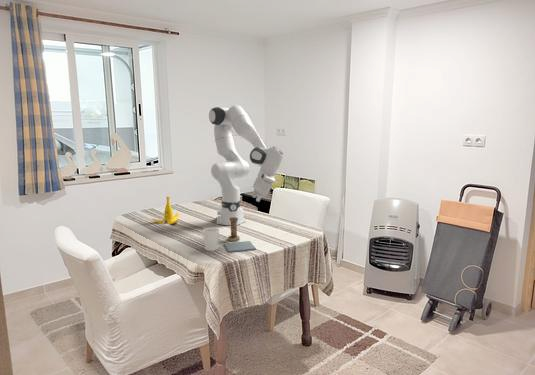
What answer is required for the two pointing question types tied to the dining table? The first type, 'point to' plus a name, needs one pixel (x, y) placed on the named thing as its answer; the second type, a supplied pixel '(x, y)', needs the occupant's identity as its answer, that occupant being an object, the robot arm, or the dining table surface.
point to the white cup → (211, 238)
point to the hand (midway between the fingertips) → (255, 199)
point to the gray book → (239, 246)
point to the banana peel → (168, 214)
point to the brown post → (233, 230)
